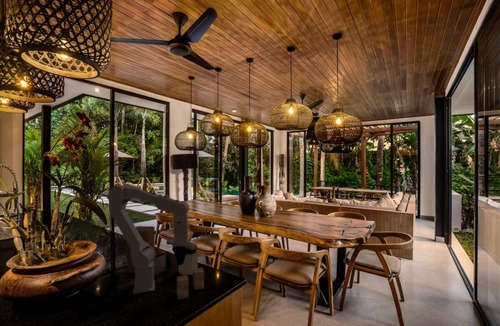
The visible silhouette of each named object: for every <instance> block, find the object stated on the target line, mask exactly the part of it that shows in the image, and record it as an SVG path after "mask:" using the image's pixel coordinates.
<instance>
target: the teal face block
mask: <svg viewBox="0 0 500 326" xmlns="http://www.w3.org/2000/svg"><path fill="white" fill-rule="evenodd" d="M189 280H190V279H189V275H180V276H176V298H177V300H183V299H188V298H190V297H189V294H190V293H189V284H190V283H189V282H190V281H189Z"/></svg>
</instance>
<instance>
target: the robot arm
mask: <svg viewBox="0 0 500 326" xmlns="http://www.w3.org/2000/svg"><path fill="white" fill-rule="evenodd" d="M106 198H107V199H108V208H109V209H108V211H109V213H110V215H111V217H112V218H113V221H114V222H115V224H116V226H118V229H119V230H120V232H121V235H122V236H123V238H124V239H125V241H126V244H127V243H128V244H129V246H130V248H131V254H130V256H131V258H132V263H133V266H134V267H135V273H134V286H133V292H132V293H133V295H136V294H141V293H142V294H143V293H147V292H148V293H149V292H153V291H155V290H156V286H155V285H156V282H155V264H154V263H153V259H154V258H155V259H156V255H157V254H156V253H157V252H156V250H154V249H153V248H152V247H150V246H149V244H148V243H147V242H145V241H143V239H142V237H141V236H140V234H139V232H138V230H137V229H136V225H135V224H134V222H133V220H132V218H131V217H130V215H129V214H128V212H127V210H126V207H127V205H128V202H129V201H130V200H131V199H139V200H141V201H145V202H148V203H150V204H153V205H155V207H156V209H159V210H161V211H164V212H166V213H168V214H172V216H173V239H172V238H169V239H166V245H167V246H169V245H170V246H172V247H171V251H173V254H174V256H175V258H176V263H177V266H179V265H182V264H184V260H185V256H186V254H187V251H188V250H189V249H191V250H194V249H196V245H197V244H196V243H194V242H191V241H189V222H188V221H189V219H188V217H189V216H188V213H189V211H190V206H189V204H188V203H187V202H186V201H185V200H182V201H181V200H179V199H174V198H172V197H169V195H168V194H165V195H164V194H161V195H160V196H158V195H155V194H153V193H151V192H148V191H146V190H145V189H141V188H139V187H137V186H135V185H130V184H123V185H116V186H115V185H114V186H112V187H111V188H110V189H109V191H108V194H107V196H106Z"/></svg>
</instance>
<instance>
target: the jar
mask: <svg viewBox="0 0 500 326" xmlns="http://www.w3.org/2000/svg"><path fill="white" fill-rule="evenodd" d="M197 249H198V246H197V244H196V249H194V250H191V249H189V250H188V251H187V254H186V256H185V260H184V264H182V265H178V273H179V274H180V275H181V276H184V275H187V276H191V275H192V276H193V269H197V268H198V265H199V264H198V263H199V261H198V260H199V259H198V258H199V251H198V250H197Z"/></svg>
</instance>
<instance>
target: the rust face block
mask: <svg viewBox="0 0 500 326" xmlns="http://www.w3.org/2000/svg"><path fill="white" fill-rule="evenodd" d="M192 287H193V290H194V291H196V290H198V291H199V290H202V289H205V270H204V268H203V267H200V268H197V269H193V274H192Z"/></svg>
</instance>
